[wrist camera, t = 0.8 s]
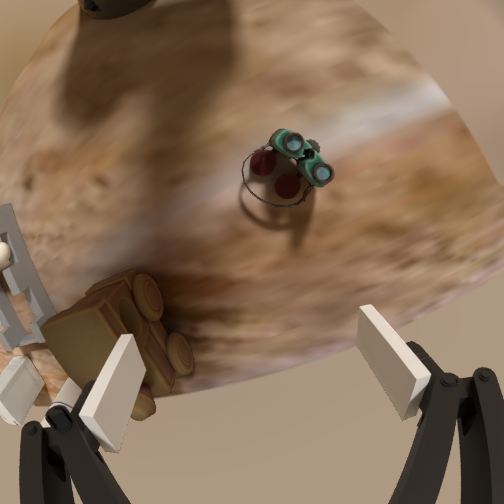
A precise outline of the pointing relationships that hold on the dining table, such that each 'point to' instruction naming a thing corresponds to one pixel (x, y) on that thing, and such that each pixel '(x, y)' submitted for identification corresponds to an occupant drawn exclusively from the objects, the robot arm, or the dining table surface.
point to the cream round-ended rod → (4, 253)
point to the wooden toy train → (109, 331)
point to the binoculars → (307, 166)
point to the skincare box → (18, 389)
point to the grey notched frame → (20, 287)
